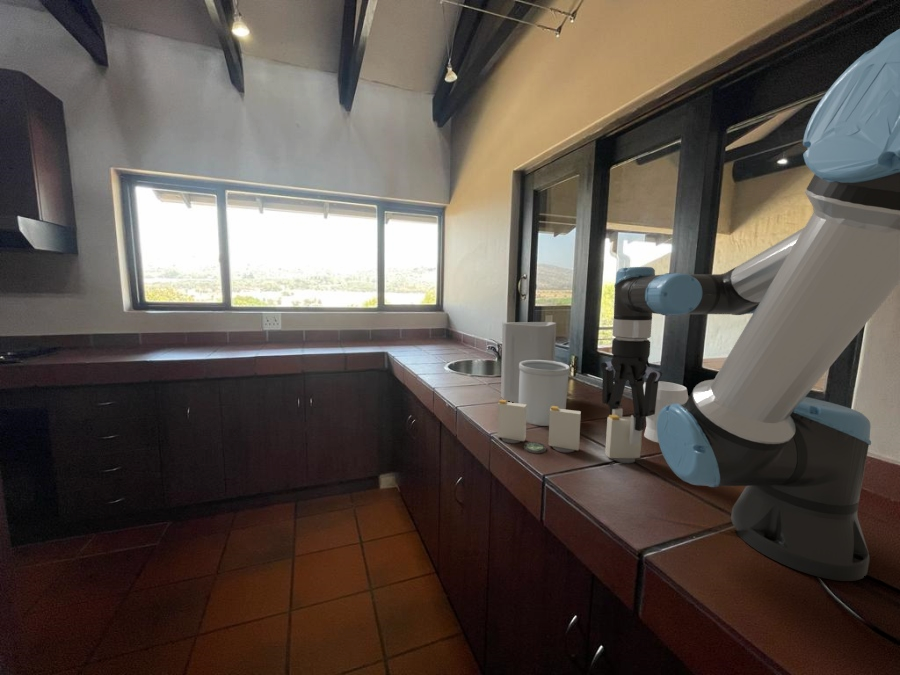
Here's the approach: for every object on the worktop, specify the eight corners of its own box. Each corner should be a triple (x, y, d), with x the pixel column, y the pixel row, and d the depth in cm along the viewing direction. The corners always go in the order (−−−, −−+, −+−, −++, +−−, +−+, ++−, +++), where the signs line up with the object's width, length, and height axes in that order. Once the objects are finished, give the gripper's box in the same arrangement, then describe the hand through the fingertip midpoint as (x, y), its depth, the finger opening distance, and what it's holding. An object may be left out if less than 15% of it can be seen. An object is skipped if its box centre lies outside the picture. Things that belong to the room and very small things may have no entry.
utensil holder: (565, 414, 111) (568, 360, 109) (568, 432, 97) (571, 371, 95) (519, 410, 115) (520, 358, 113) (515, 426, 101) (517, 367, 99)
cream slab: (522, 445, 86) (524, 406, 85) (495, 440, 89) (496, 403, 88) (526, 437, 91) (527, 400, 90) (500, 433, 94) (501, 397, 92)
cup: (692, 451, 85) (698, 392, 83) (645, 447, 87) (649, 390, 85) (673, 434, 95) (678, 381, 93) (632, 431, 97) (635, 379, 95)
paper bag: (512, 409, 115) (515, 326, 111) (500, 396, 130) (501, 322, 126) (566, 407, 118) (570, 325, 114) (548, 394, 132) (551, 321, 129)
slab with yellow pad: (643, 463, 77) (647, 420, 76) (612, 463, 77) (615, 420, 76) (631, 452, 82) (634, 412, 81) (602, 452, 82) (604, 412, 81)
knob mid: (578, 455, 81) (580, 413, 80) (547, 449, 84) (549, 409, 83) (579, 446, 86) (581, 407, 85) (550, 441, 89) (551, 403, 87)
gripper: (681, 341, 71) (672, 450, 74) (609, 333, 86) (604, 424, 88) (659, 344, 67) (651, 458, 70) (587, 335, 82) (583, 429, 85)
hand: (625, 438), depth 79 cm, fingers closed on slab with yellow pad, 4 cm apart
